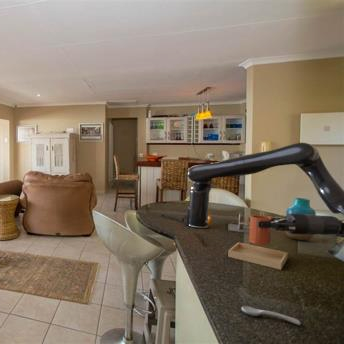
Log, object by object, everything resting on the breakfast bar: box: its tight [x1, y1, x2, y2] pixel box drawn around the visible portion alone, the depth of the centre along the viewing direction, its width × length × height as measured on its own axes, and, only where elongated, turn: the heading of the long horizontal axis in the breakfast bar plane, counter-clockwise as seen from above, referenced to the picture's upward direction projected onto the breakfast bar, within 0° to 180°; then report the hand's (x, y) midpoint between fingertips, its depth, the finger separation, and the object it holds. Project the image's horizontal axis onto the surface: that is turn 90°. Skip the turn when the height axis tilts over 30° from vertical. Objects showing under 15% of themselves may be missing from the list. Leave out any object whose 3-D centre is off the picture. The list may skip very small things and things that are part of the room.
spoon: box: [241, 305, 302, 326], centre depth 73 cm, size 3×12×2 cm, turn 65°
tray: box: [227, 242, 289, 271], centre depth 112 cm, size 16×14×3 cm
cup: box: [248, 214, 272, 246], centre depth 111 cm, size 6×6×10 cm
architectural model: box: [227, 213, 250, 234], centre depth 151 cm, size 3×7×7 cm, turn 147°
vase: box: [284, 197, 317, 241], centre depth 134 cm, size 11×11×19 cm
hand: (253, 221), depth 111 cm, fingers closed on cup, 6 cm apart
